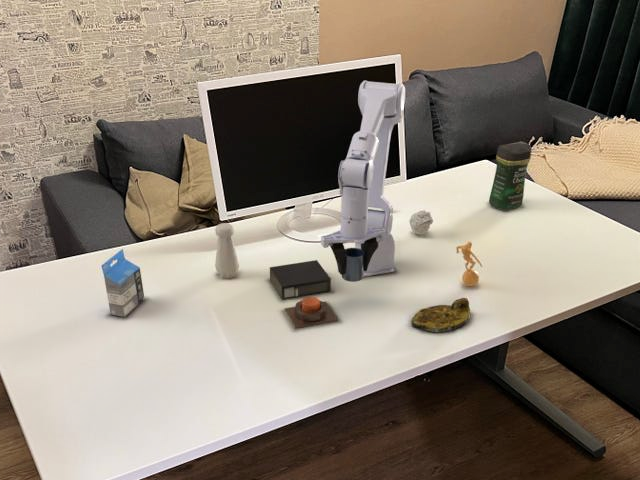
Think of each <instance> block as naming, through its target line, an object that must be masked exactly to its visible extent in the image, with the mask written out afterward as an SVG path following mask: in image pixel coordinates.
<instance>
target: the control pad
mask: <svg viewBox="0 0 640 480" xmlns="http://www.w3.org/2000/svg"><path fill="white" fill-rule="evenodd" d="M302 300H303V299H301V300H300V301H298V302H296V304H295V306H291V307H285V308H284V309H283V310H284V313H285V315H286V316H287V318H288V320H289V321H290V324H291V325H292V326H293V328H294V330H296V329H302V328H307V327H313V326H319V325H325V324H331V323H335V322H338V321H339V319H338V316H336V315H337V314H335V312H334V310H332V308H331V306H330V305H329V303H328V302H327V301H322V300H320V309H319V310H318V311H315V312H306V311H304V310H302Z"/></svg>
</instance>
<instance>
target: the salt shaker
mask: <svg viewBox="0 0 640 480" xmlns="http://www.w3.org/2000/svg"><path fill="white" fill-rule="evenodd" d="M214 228H215V229H214V231H215V235H216V236H217V244H216V254H215V263H214V267H215V269H216V271H217V273H218V275H219V276H220V277H221V278H222V279H231V278H233V277H236V276H237V273H238V271H239V269H240V262H239V260H238V259H239V258H238V255H237V252H236V247H235V244H234V240H233V235H234V234H235V229H234V226H233V225H232V224H230V223H228V222H221V223H219V224H217V225H216V226H215V227H214Z"/></svg>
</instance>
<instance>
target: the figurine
mask: <svg viewBox="0 0 640 480" xmlns="http://www.w3.org/2000/svg"><path fill="white" fill-rule="evenodd" d="M472 246H473V242H472V241H468V242H466V244H464V245H457V246H456V254H460V250H461V253H462V255H463V256H462V258H463V260H464V261H466V262H465V264H464V266H465V271H464V272H463V274H462V277H461V280H462V283H463V284H464V285H465V286H467V287H473V286H476V285H477V284H478V282H479V280H480V275H479V273H478V272H477V271H476V270H475V269H473V268H474V267H475V265H476V262H477V263H478V264H479V265H480V268H482V267H483V265H482V263H481V261H480V259H478V257H477V256H476V254H475V253H474V252H473V250H472ZM459 249H460V250H459ZM471 256H472V257H471ZM473 258H474V259H475V260H476V261H474V259H473ZM470 264H471V265H470ZM468 266H469V267H468Z"/></svg>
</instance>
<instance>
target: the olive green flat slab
mask: <svg viewBox="0 0 640 480" xmlns="http://www.w3.org/2000/svg"><path fill="white" fill-rule="evenodd" d="M470 318H471V307H470V300H469V299H468V298H467V297H460V298H457V299H455V300H453V302H452V304H451V305H450V304H438V305H433V306H432V305H431V306H428V307H425V308H421V309H419V311H417V312H416V313H415V314H414V316H413V317H412V319H411V326H412V327H416V328H419V329H422V330H423V331H426V332H429V333H445V332H449V331H450V332H451V331H453V330H455V329H457V328H460V327H462V326H464V325H466V324H467V323H468V322H469V320H470Z"/></svg>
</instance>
